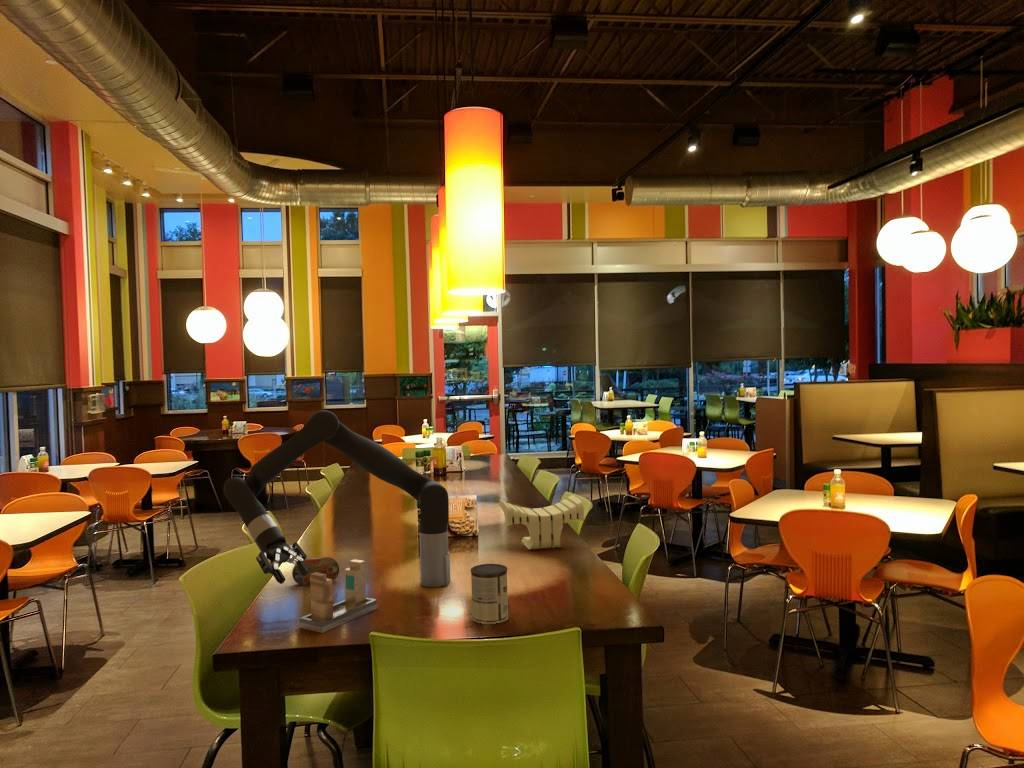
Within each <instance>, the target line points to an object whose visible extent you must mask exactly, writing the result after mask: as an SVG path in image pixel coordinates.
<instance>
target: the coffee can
mask: <svg viewBox="0 0 1024 768" xmlns="http://www.w3.org/2000/svg"><path fill="white" fill-rule="evenodd" d="M470 575H471V576H470V577H471V578H470V579H471V581H470V582H471V583H470V584H471V607H472V608H471V609H472V613H471V614H472V617H471V620H472V621H473V622H474V621H475V622H474V623H476V622H477V624H480V623H481V625H496V623H498V624H502V623H504V622H506V621H508V619H509V604H508V603H509V600H508V567H507V565H503V564H499V563H483V564H482V563H481V564H478V565H475V566H473V567H471V568H470Z"/></svg>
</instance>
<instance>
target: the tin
mask: <svg viewBox="0 0 1024 768" xmlns="http://www.w3.org/2000/svg"><path fill="white" fill-rule="evenodd" d="M304 563H305V565H306V566H307V568H308V570H309V571H308V574H307V575H306V576H303V575H302V574H301V572H300V571H299V569H298V568H297V565H295V564H294V565H293V568H292V572H291V575H292V579H293V581H294V582H295V583H296V584H298V585H299V586H310V574H312V573H315V572H317V573H322V574H326V578H328V579H332V582H334V581H335V580H336V578H338V576H339V574H340V566H339V563H338V562H337V560H336V559H334V558H333V557H330V556H322V557H313V558H306V559H305V560H304Z"/></svg>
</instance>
